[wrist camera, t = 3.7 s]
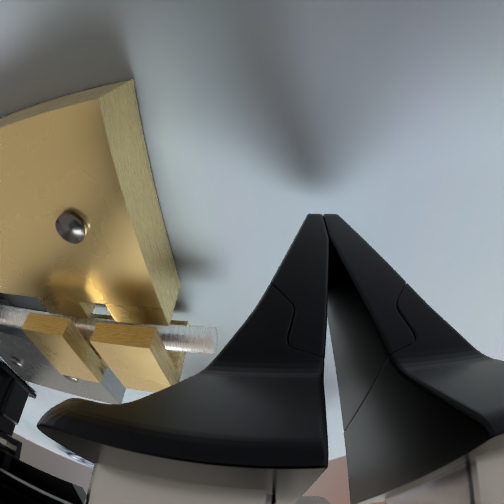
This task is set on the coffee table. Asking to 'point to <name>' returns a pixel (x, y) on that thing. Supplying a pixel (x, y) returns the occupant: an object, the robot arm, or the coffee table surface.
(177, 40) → the coffee table surface
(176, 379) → the loose leaf
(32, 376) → the fixed leaf
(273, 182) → the coffee table surface
